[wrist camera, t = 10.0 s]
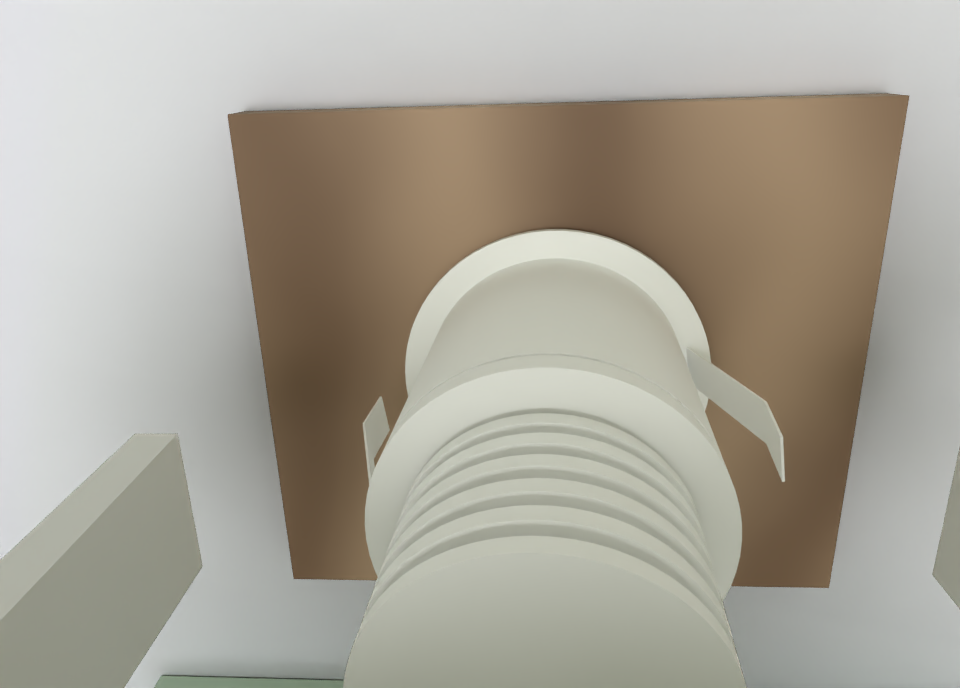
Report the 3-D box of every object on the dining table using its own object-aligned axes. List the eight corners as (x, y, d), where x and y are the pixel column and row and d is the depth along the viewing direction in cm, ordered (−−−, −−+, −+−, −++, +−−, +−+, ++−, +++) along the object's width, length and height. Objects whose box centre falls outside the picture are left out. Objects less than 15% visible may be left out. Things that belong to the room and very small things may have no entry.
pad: (304, 556, 21) (293, 578, 20) (244, 111, 17) (227, 114, 16) (815, 563, 20) (828, 587, 19) (887, 93, 16) (909, 95, 15)
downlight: (719, 199, 16) (929, 405, 7) (738, 484, 18) (912, 927, 9) (360, 253, 17) (119, 488, 8) (421, 512, 20) (290, 924, 10)
